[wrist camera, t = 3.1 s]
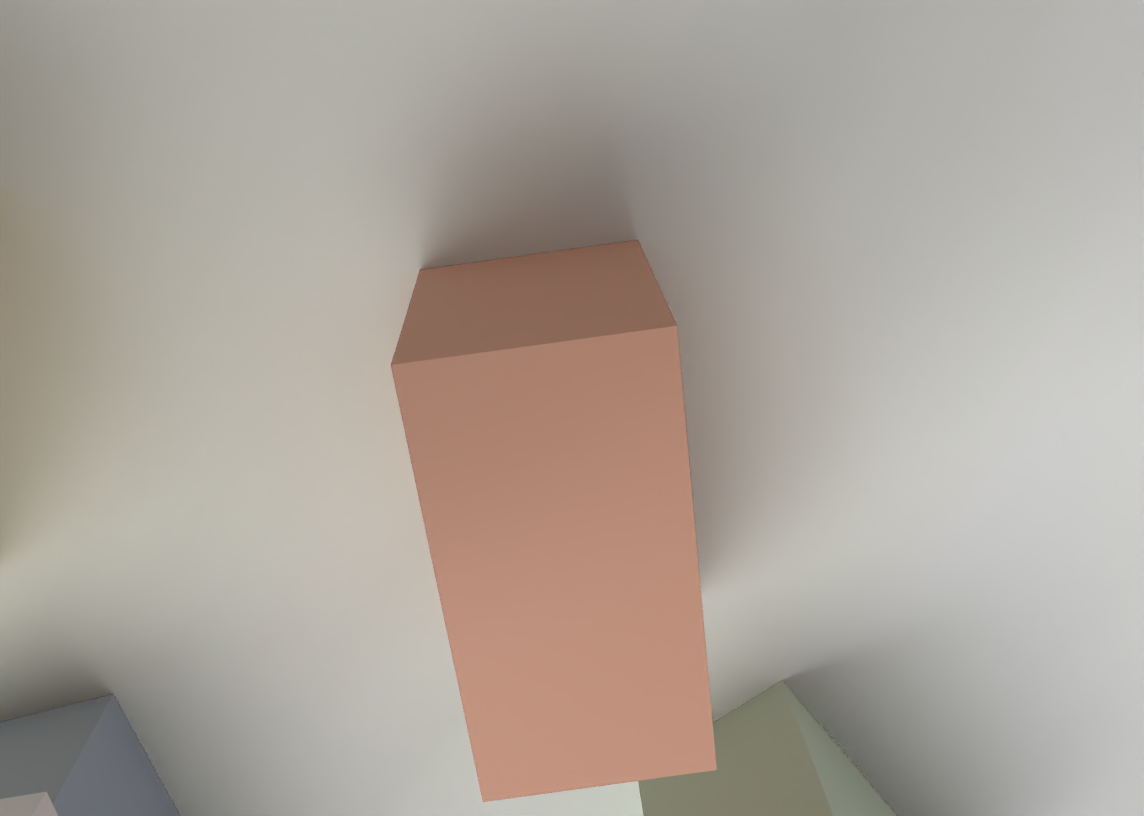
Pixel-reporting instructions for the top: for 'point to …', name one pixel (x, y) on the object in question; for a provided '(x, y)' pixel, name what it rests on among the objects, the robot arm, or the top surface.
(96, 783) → the slate brick
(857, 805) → the sage brick
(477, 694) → the terracotta brick
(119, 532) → the top surface
